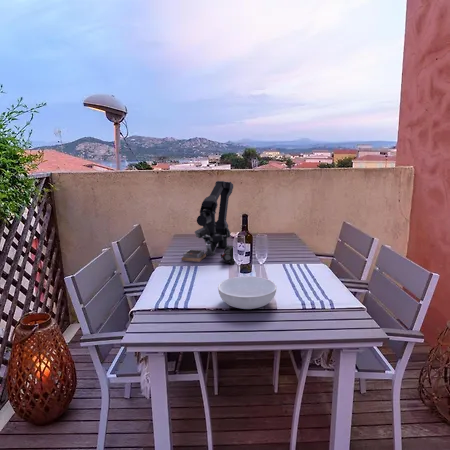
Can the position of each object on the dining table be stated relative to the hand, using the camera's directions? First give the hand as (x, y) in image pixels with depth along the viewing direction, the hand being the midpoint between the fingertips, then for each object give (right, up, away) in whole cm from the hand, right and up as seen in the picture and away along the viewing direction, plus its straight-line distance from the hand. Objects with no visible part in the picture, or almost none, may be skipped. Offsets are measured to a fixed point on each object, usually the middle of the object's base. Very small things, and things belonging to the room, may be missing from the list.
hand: (210, 250), depth 189 cm
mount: (-8, -4, -8) cm, 12 cm away
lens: (0, -2, 0) cm, 2 cm away
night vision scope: (+10, -5, -12) cm, 17 cm away
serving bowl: (+16, -14, -65) cm, 68 cm away
